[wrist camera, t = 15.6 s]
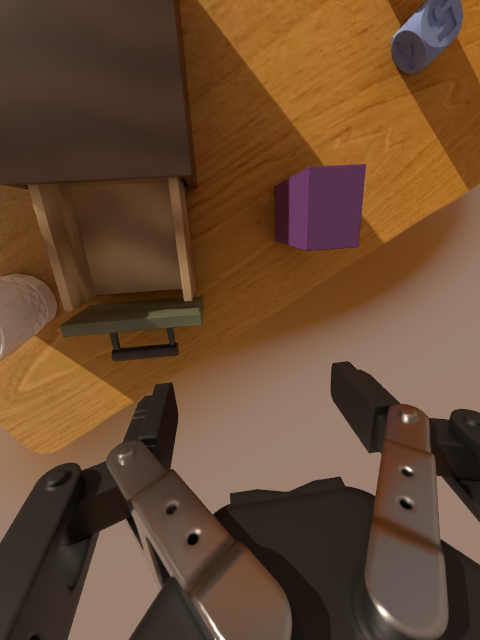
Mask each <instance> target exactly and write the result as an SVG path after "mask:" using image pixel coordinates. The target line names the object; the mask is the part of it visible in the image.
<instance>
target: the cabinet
mask: <svg viewBox="0 0 480 640" xmlns="http://www.w3.org/2000/svg"><path fill="white" fill-rule="evenodd" d="M182 177H183V179H184V187H185V189H187V188H197V178H196V168H195V158H194V148H193V138H192V128H191V118H190V109H189V99H188V89H187V79H186V69H185V59H184V49H183V39H182V29H181V19H180V9H179V0H0V184H1V185H6V186H11V187H17V188H23V189H28V186H27V185H37V184H58V183H78V182H99V181H120V180H141V179H161V178H182ZM28 190H29V189H28Z"/></svg>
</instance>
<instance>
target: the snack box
mask: <svg viewBox="0 0 480 640" xmlns="http://www.w3.org/2000/svg"><path fill="white" fill-rule="evenodd" d="M365 168H366V164H358V165H338V166H317V167H308V168H306V169H304V170H302V171H301V172H299V173H297V174H295V175H294V176H292V177H290V178H288V179H287V180H285V181H283V182H281V183H279V184H278V185H276V186H275V187H274V188H275V241H276V242H279V243H283V244H286V245H289V246H292V247H295V248H299V249H302V250H305V251H313V250H327V249H341V248H355V247H358V245H359V234H360V223H361V212H362V201H363V190H364V179H365Z"/></svg>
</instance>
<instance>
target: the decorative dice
mask: <svg viewBox="0 0 480 640" xmlns="http://www.w3.org/2000/svg"><path fill="white" fill-rule="evenodd" d="M462 18H463V9H462V4H461V1H460V0H425V1H424V3H423V4H422V5H421V6H420V7H419V8H418V9H417V10H416V11H415V12H414V13H413V14H412V15H411V17H410V18H409V19H408V20H407V21H406V22H405V23H404V24H403V25H402V27H401V28H400V29H399V30H398V31H397V32H396V33H395V35H394V36H393V39H392V57H393V60H394V62H395V64H396V66H397V67H398V68H399V69H400V70H401V71H403V72H405V73H408V74H416V73H418V72H419V71H421V70H422V69H423V68H425V67H426V66H427V65H428V64H429V63H430V62H432V61H433V60H434V59H435V58H436V57H437V56H438V55H439V54H440V53H441V52H442V51H443V50H444V49H445V48H447V46H448V45H449V44H450V43H451V42H452V41H453V40H454V39H455V38H456V37H457V35H458V34H459V31H460V28H461V24H462Z"/></svg>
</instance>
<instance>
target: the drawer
mask: <svg viewBox="0 0 480 640" xmlns="http://www.w3.org/2000/svg"><path fill="white" fill-rule="evenodd" d="M27 186H28V189H29V192H30V196H31V199H32V203H33V206H34V209H35V213H36V216H37V220H38V223H39V226H40V230H41V233H42V236H43V240H44V243H45V247H46V250H47V253H48V257H49V260H50V264H51V267H52V270H53V274H54V277H55V280H56V284H57V287H58V291H59V294H60V297H61V301H62V304H63V307H64V311H73V310H75V309H76V308H78V307H79V306H81V305H82V304H84V303H86V302H87V301H89V300H90V299H92V298H93V297H95V296H98V295H111V294H124V293H137V292H150V291H163V290H176V289H183V296H184V298H174V299H161V300H149V301H136V302H124V303H111V304H99V305H89V306H88V307H87V308H85V309H84V310H82V311H81V312H79V313H78V314H76V315H75V316H73V317H72V318H70V319H69V320H68V321H66V322H65V323H63V324H62V325H60V328H61V331H62V334H63V337H68V336H80V335H91V334H102V333H110V336H111V341H112V345H113V350H112V359H113V361H125V360H135V359H146V358H156V357H167V356H177V355H179V347H178V343H175V337H174V330H173V327H182V326H194V325H202V321H203V310H204V300H203V296H199V297H193V296H194V292H195V287H196V283H195V274H194V266H193V257H192V248H191V240H190V231H189V222H188V214H187V205H186V196H185V187H184V179H183V177H182V178H161V179H141V180H120V181H99V182H78V183H58V184H37V185H27ZM160 328H167V333H168V339H169V344H161V345H150V346H139V347H128V348H121V347H120V342H119V338H118V334H117V332H125V331H137V330H148V329H160Z"/></svg>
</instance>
